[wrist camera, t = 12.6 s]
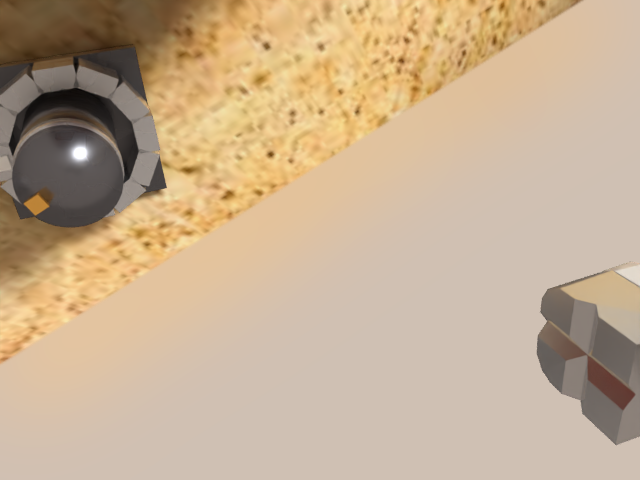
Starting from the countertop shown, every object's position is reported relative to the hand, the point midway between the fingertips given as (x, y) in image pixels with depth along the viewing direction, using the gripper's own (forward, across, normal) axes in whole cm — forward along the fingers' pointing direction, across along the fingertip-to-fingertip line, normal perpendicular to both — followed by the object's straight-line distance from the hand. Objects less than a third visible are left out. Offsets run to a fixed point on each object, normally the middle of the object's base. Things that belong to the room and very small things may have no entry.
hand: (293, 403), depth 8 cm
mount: (+33, +4, +5) cm, 34 cm away
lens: (+32, +4, +5) cm, 33 cm away
